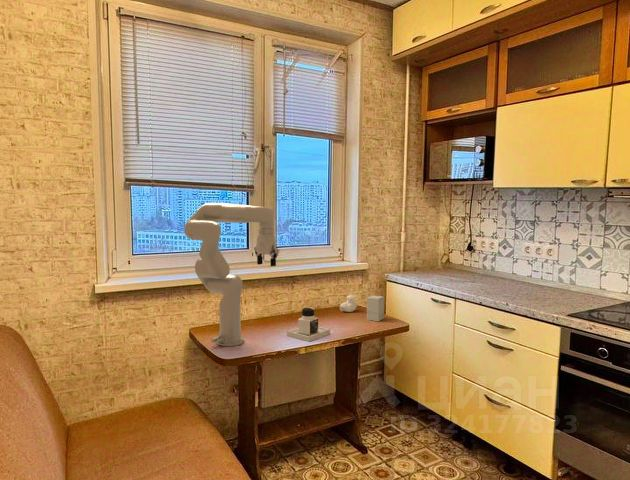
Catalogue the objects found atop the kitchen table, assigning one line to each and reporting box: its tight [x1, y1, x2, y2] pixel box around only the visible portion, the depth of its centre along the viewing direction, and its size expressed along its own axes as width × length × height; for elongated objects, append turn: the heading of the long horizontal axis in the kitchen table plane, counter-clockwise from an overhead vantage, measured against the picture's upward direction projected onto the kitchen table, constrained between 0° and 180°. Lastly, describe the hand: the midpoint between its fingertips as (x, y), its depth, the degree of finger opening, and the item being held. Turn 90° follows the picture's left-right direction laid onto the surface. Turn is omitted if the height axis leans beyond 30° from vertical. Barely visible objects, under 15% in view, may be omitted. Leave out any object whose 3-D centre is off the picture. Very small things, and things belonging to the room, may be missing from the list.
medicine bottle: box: [297, 307, 319, 335], centre depth 211 cm, size 7×7×12 cm
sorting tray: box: [286, 326, 331, 342], centre depth 211 cm, size 16×14×2 cm
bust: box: [339, 294, 358, 313], centre depth 256 cm, size 12×8×11 cm
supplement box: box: [366, 294, 385, 322], centre depth 239 cm, size 7×7×13 cm
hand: (266, 265), depth 221 cm, fingers open, 9 cm apart
